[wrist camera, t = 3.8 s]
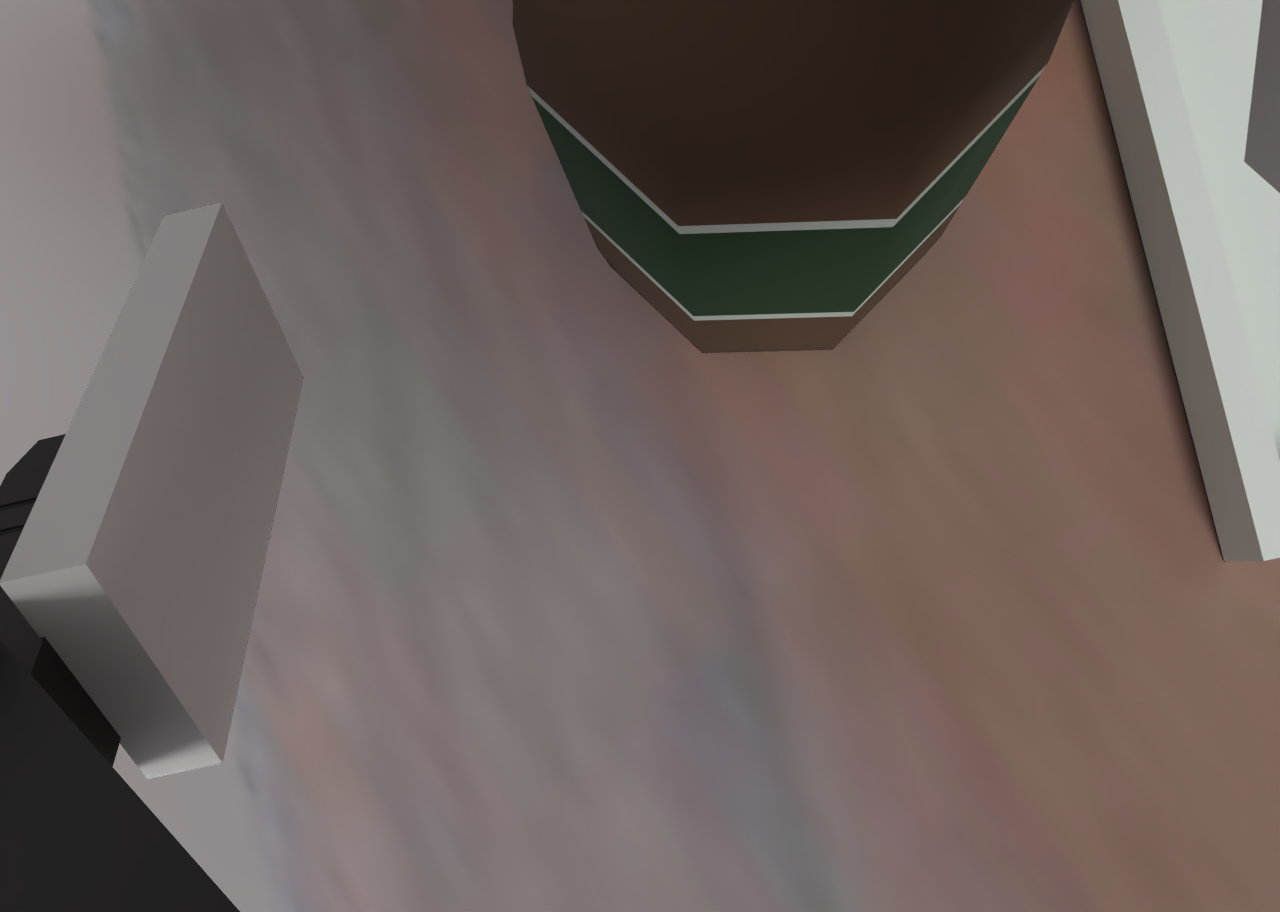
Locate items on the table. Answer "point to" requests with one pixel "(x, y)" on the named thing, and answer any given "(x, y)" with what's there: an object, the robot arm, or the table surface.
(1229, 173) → the tray
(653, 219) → the beer bottle
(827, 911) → the table surface
